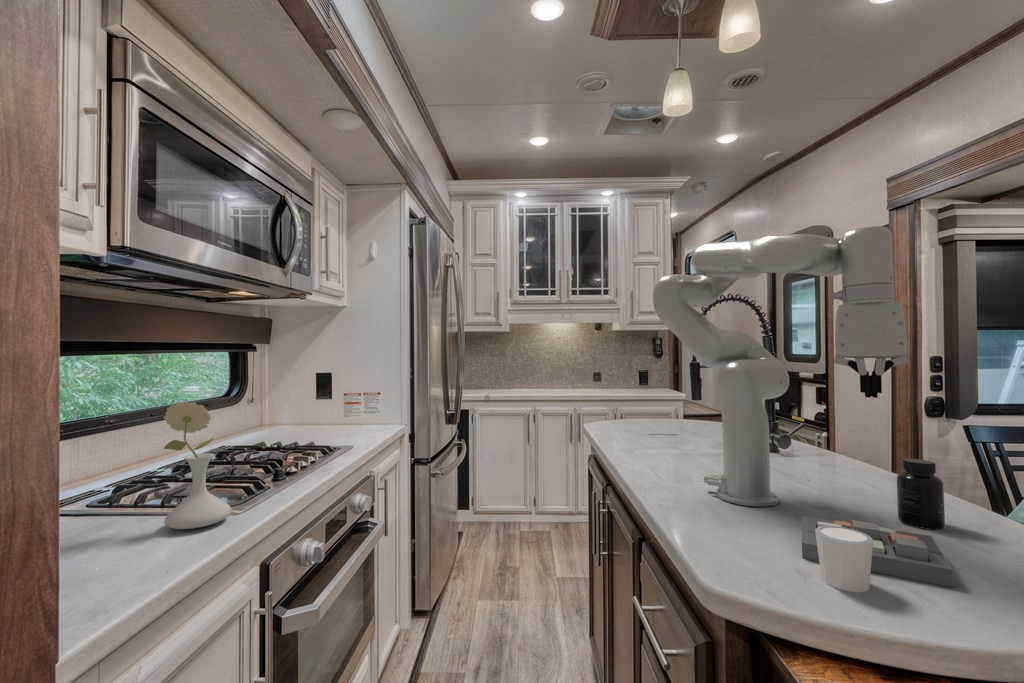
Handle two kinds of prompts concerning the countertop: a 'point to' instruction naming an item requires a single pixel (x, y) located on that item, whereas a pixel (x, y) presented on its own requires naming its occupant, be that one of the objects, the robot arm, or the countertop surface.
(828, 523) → the key cream
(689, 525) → the countertop surface
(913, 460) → the supplement bottle
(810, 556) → the keypad
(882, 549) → the key sage
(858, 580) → the white oval cup
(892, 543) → the key terracotta
